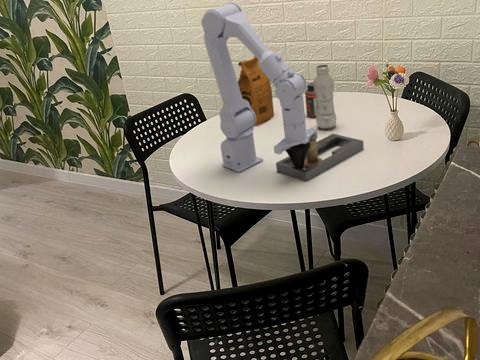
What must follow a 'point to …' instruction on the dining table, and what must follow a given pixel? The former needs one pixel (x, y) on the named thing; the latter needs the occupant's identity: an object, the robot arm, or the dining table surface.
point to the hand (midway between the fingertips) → (299, 168)
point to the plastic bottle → (324, 98)
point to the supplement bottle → (311, 101)
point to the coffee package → (256, 90)
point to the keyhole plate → (338, 155)
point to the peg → (312, 153)
